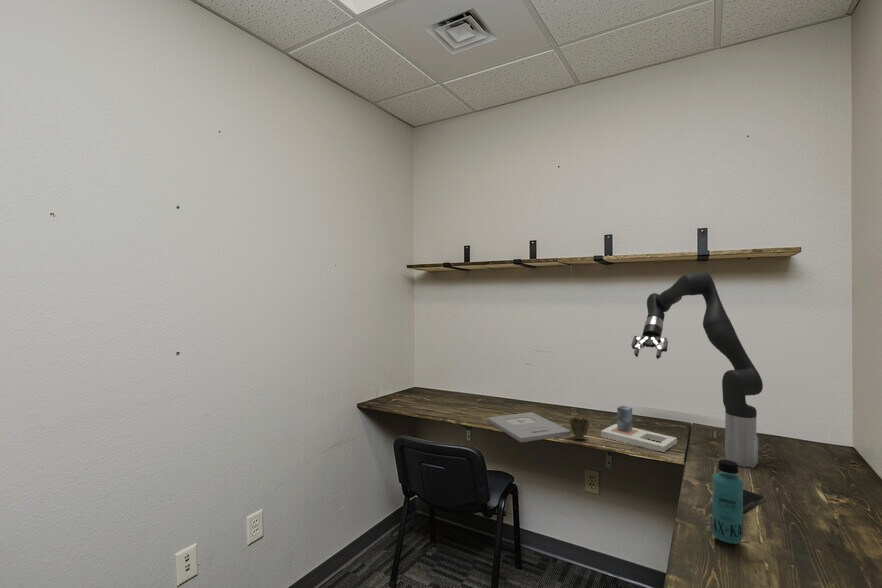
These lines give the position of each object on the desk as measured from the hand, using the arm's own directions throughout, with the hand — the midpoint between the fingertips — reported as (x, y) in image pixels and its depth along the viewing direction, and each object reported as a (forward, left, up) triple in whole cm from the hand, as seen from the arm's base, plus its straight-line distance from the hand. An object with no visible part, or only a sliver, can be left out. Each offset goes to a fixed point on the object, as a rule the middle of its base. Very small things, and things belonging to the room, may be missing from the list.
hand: (646, 356), depth 189 cm
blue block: (+3, +15, -30) cm, 33 cm away
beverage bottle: (-47, +72, -33) cm, 92 cm away
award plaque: (+39, +34, -33) cm, 61 cm away
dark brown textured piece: (+15, +31, -33) cm, 47 cm away
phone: (-44, +45, -33) cm, 71 cm away
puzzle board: (-2, +15, -33) cm, 36 cm away
